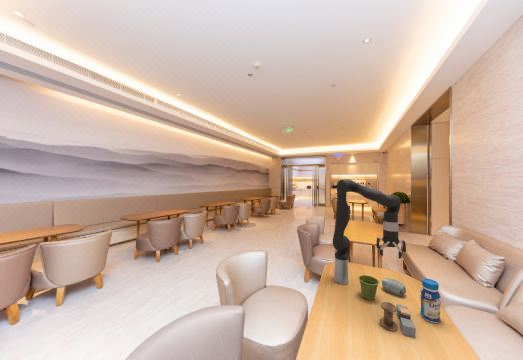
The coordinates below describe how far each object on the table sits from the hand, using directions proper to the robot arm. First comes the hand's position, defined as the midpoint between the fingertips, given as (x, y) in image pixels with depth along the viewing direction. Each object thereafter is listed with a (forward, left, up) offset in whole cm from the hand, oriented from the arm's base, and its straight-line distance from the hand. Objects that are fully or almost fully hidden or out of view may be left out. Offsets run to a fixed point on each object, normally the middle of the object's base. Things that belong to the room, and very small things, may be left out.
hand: (390, 257), depth 114 cm
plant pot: (-11, +7, -30) cm, 33 cm away
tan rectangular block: (+5, -11, -30) cm, 32 cm away
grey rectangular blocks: (+5, -11, -30) cm, 32 cm away
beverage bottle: (+18, 0, -30) cm, 35 cm away
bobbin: (-3, -16, -30) cm, 34 cm away
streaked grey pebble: (+4, +20, -30) cm, 37 cm away
